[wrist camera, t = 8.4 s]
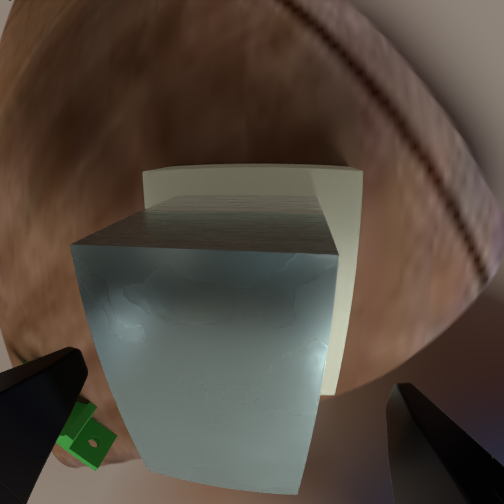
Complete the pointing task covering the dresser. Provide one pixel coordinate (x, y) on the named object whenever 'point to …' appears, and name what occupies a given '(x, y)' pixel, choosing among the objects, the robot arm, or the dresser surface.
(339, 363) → the sage stand
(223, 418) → the grey-blue rectangular block
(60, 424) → the robot arm
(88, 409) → the pipe clamp
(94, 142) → the dresser surface
